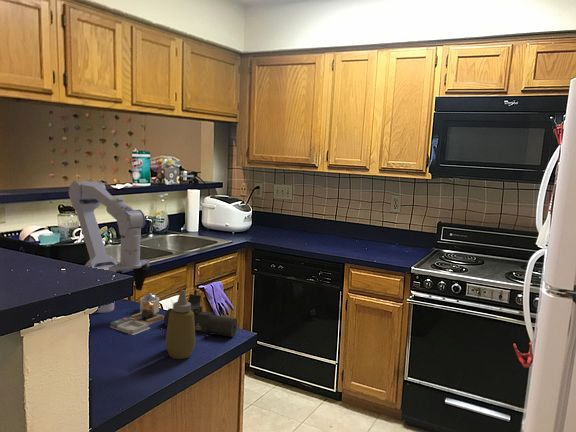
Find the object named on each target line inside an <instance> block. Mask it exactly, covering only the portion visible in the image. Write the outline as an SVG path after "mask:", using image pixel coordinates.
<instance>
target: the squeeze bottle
mask: <svg viewBox="0 0 576 432" xmlns="http://www.w3.org/2000/svg"><path fill="white" fill-rule="evenodd" d="M172 305H173V306H172V309H173V310H172V311H171V312H170V313H169V319H168V326H166V327H167V328H166V334H165V335H166V336H165V341H164V343H165V347H166V351H167V353H168V354H167V355H168V357H170V358H171V359H175V360H184V359H188V358H189V357H191V356H192V353H193V350H194V347H195V346H196V343H197V342H196V331H195V321H194V312H193V311H191V303H189V302H188V300H187V294H186V290H185V289H181V290H180V291H179V295H178V299H177V301H175V302H173V304H172Z"/></svg>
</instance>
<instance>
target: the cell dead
mask: <svg viewBox="0 0 576 432" xmlns="http://www.w3.org/2000/svg"><path fill="white" fill-rule="evenodd" d="M143 297H144V300H145V301H154V300H155V299H156V297H157V296H156V293H154V292H153V293H151V292H149V293H148V292H146V293H144V295H143Z"/></svg>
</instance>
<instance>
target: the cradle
mask: <svg viewBox="0 0 576 432" xmlns="http://www.w3.org/2000/svg"><path fill="white" fill-rule="evenodd" d="M109 325H110V326H109V328H111V329H114V330H117V331H120V332H123V333H126V334H128V335H132V336H133V335H134V336H135V335H137V334H140V333H142V332H145V331H148V330H150V329H151V327H149V325H147V324H146V323H143V322H140V321H137V320H132V319H130V317H127V316H125V317H123V318H120V319H117V320H114V321H110V323H109Z"/></svg>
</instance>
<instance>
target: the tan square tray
mask: <svg viewBox="0 0 576 432" xmlns="http://www.w3.org/2000/svg"><path fill="white" fill-rule="evenodd" d="M164 316H165V315H164V314H160V313H157V312H156V313H154V317H153V318H150V319H147V320H146V322H145V321H142V312H140V311H139V312H138V313H135V314H134V313H133V314H132V315H131V316H130V317H129V318H130V319H132V320H137V321H140V322H143V323H146V324H147V325H148V326H150V325H152V324H155V323H157V322H158V323H159V322H160V321H164Z"/></svg>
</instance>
